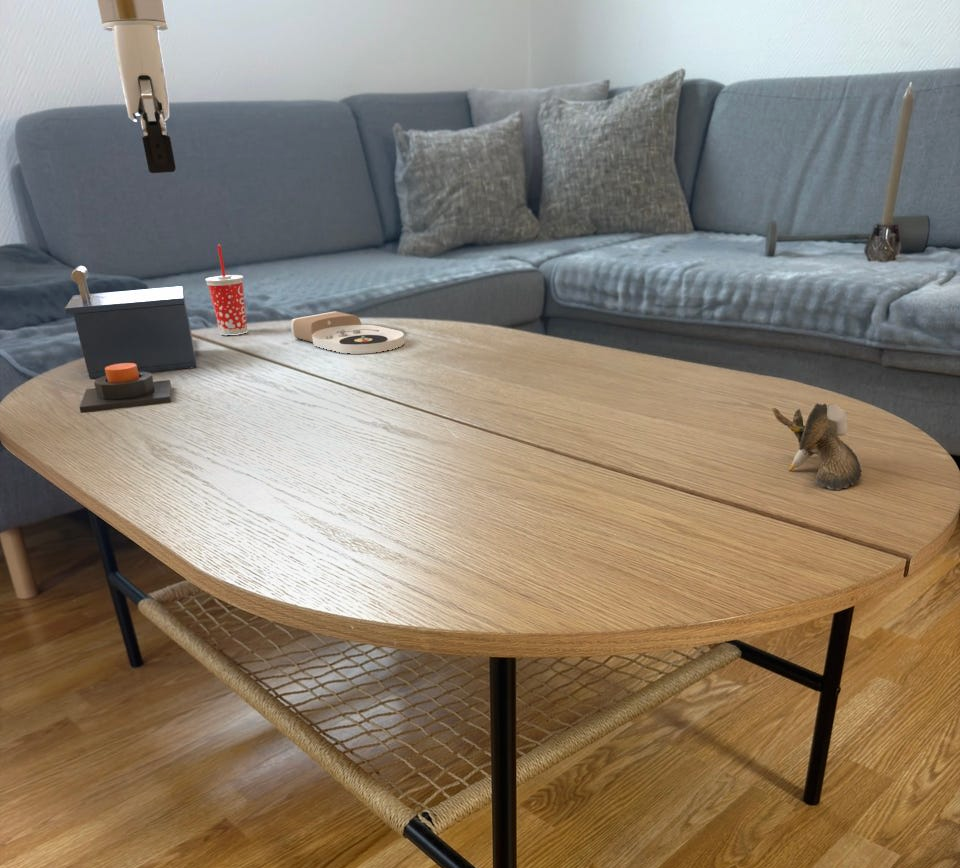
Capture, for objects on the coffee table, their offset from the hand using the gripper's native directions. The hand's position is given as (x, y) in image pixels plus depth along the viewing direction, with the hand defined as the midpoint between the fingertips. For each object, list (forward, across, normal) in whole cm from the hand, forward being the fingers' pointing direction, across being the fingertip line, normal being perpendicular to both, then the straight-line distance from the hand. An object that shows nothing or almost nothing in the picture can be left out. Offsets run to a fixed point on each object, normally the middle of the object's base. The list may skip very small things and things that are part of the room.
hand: (163, 171), depth 114 cm
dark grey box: (+25, -6, -8) cm, 27 cm away
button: (+22, +21, -9) cm, 31 cm away
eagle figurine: (+26, +71, +52) cm, 92 cm away
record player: (+26, -6, +23) cm, 35 cm away
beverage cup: (+26, -24, +6) cm, 36 cm away
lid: (+17, -6, -8) cm, 20 cm away
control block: (+25, +21, -9) cm, 34 cm away
